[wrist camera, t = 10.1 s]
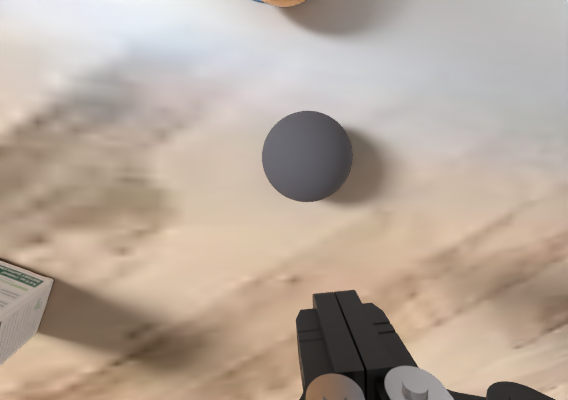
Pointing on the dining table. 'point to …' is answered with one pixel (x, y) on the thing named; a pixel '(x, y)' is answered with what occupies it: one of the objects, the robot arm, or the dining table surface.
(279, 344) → the dining table surface
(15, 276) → the syrup box
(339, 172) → the gray ball
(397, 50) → the dining table surface
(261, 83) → the dining table surface
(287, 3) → the orange ball
